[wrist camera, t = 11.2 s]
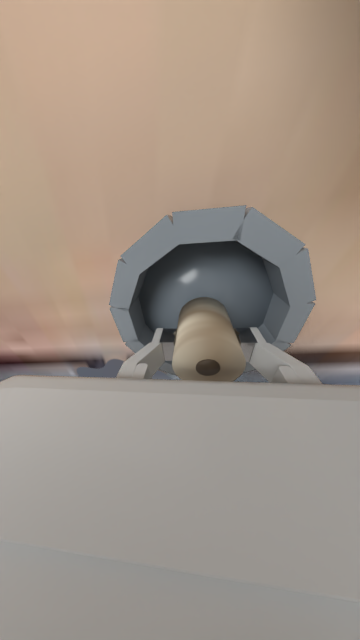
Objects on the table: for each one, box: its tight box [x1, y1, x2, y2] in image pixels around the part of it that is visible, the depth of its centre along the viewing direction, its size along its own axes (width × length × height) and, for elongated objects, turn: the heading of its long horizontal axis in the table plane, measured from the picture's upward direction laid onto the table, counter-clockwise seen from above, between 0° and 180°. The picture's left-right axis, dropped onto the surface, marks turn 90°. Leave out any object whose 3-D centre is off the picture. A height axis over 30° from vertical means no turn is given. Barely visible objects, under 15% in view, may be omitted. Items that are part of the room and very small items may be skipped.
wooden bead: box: [172, 297, 246, 382], centre depth 10 cm, size 4×4×5 cm
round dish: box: [109, 205, 316, 376], centre depth 13 cm, size 15×15×4 cm
